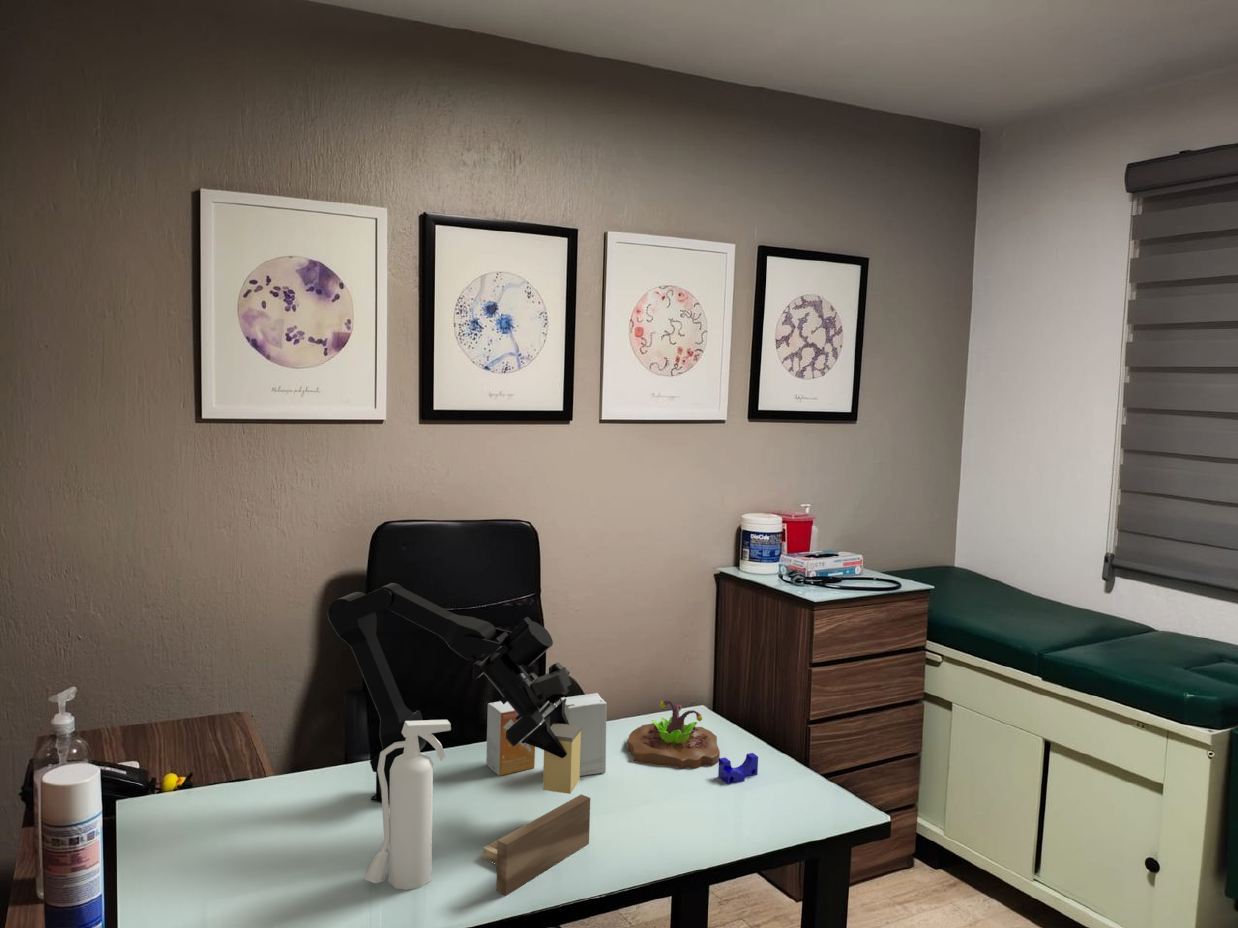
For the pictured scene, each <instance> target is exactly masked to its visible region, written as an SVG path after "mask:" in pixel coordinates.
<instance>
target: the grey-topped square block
mask: <svg viewBox="0 0 1238 928" xmlns="http://www.w3.org/2000/svg"><path fill="white" fill-rule="evenodd" d="M550 728H551V730H552V732H553V733H554V734H555V736H556V737H557V739H558V740H559V742H560V743H561V745H562V746H563V748H564V750H565V751H566V753H567V755H566V756H565V757H564V758H560V757H558V756H556V755H554V754H552V753H549V752H547V751H545V750H543V773H542V776H543V779H542V791H548V792H555V793H563V794H570V795H571V793H572V792H573V791H574V789H575V788H576V787H577V785H578V783H579V782H580V777H581V776H580V743H581V726H575V725H567V724H560V723H554V724H553V725H552V726H551V727H550Z"/></svg>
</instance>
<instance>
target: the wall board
mask: <svg viewBox="0 0 1238 928" xmlns="http://www.w3.org/2000/svg"><path fill="white" fill-rule="evenodd" d="M590 818H591V797H589V796H587V795H584V794H581V793H580V794H579V795H578V796H577V795H576V796H575V797H574V798H572V799H569V801H566V802H565V803H563V804H561V805H559V806H558V807H556V808H553V809H552V810H551V811H548V812H546V813H545V814H543V815H541V816H539V817H537V818H536V819H533V820H532V821H530V822H528V823H526V824H525V825H524V824H523V825H522V826H520V827H519V828H516V829H515V830H513V831H510V832H509V833H508V834H506V835H503V836H502V837H500V838H498V839H497V840H495V841H493V842H491V843H488V844H487V845H485V846H483V847H482V859H483V858H484V859H483V860H485V859H486V861H487V860H488V861H487V862H490V861H491V862H490V863H492V862H493V863H492V864H494V863H495V864H494V865H496V864H497V865H496V885H495V886H496V887H495V889H496V890H495V891H496V892H497V893H499V894H502V895H503V896H508V895H509V894H511V893H512V892H514V891H517V890H518V889H519V888H521V887H522V886H524V885H526V884H527V883H528V882H530V881H532V880H533V879H535V878H536V876H537V877H538V876H540V875H542V874H543V873H544V871H545V872H546V871H548V870H549V869H551V868H552V867H554V866H556V865H557V864H559V863H560V862H562V861H564V860H565V859H567V858H568V857H570V856H572V855H573V854H575V853H576V852H578V851H580V850H581V849H582V848H584V847H586V846H587V845H588V844H590V822H591V820H590ZM569 855H570V856H569ZM539 874H540V875H539Z"/></svg>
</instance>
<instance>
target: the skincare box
mask: <svg viewBox="0 0 1238 928" xmlns="http://www.w3.org/2000/svg"><path fill="white" fill-rule="evenodd" d="M565 698H566V702H565V715H566V717H567V720H568V722H569V725H575V726H581V743H580V776H579V777H582V776H590V775H596V774H602V773H606V772H607V771H606V770H607V767H606V766H607V763H606V761H607V755H606V754H607V707H608V706H607V705H608V703H607V702H606V701H605V700H604V699H603V698H602V697H601V696H600V694H599V693H598V692H595V693H590V694H587V693H586V694H582V695H581V694H579V695H574V696H567V697H565V696H564V697H562V698H561V699H560V702H562V701H563V700H564V699H565Z"/></svg>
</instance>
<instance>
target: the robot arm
mask: <svg viewBox="0 0 1238 928" xmlns="http://www.w3.org/2000/svg"><path fill="white" fill-rule="evenodd" d="M384 609H385V610H388V611H390V612H391V613H394V614H395V615H398V616H400V617H402V618H404V619H406V620H407V621H409V622H412V623H413V624H416V625H417V626H419V627H421V628H422V629H423V628H424V629H425V630H427V631H429V632H431V633H433V634H435V635H437V636H438V637H439V638H441V639H442V640H443V641H445V643H446V644H447V645H448V647H449V648H450V649H451V650H452V651H453V652H454V653H456V654H457V655H459V656H460V657H462V658H463V659H465V660H467V661H471V662H472V661H475V662H474V663H473V664H472V666H473V670H472V679H473V680H477V679H478V678H480V677H481V676H482V675H484V676H486V678H487V679H488V680H489V682H491V684H492V685H493V686H494V687H495V689H496V690H497V692H499V693H500V695H501V696H502V698H501V699H499V701H501V702H502V703H503V704H505V703H506V702H508V703H509V704H510V705H511V706H512V708H513V709H514V710H515V711H516V712H517V714H518V716H517V717H516V718H515V719H516V720H517V721H516V722H515V723H514V724H513V725H512V726H511V727H510V728H509V729H508V730H507V731H506V739H507V740H508V742H509V743H510V744H511V745H512V746H513V747H514V746H515V745H516V744H517V743H518V742H520V741H521V740H522V739H523V738H524V737H525V736H526V737H525V738H524V739H523V740H522V741H521V743H523V744H524V743H527V744H529V745H532V746H535V748H537V749H540V750H542V751H544V750H545V751H547V752H549V753H552V754H554V755H556V756H558V757H560V758H564V757H565V756H566V755H567V753H566V751H565V750H564V748H563V746H562V745H561V743H560V742H559V740H558V739H557V737H556V736H555V734H554V733H553V732H552V730H551V728H550V727H551V726H552V725H553V724H554V723H560V724H567V725H569V722H568V720H567V717H566V715H565V702H566V698H565V699H564V700H563V701H562V702H561V698H564V697H565V696H567V694H568V693H569V692H570V690H569V688H568V687H570V686H572V682H571V681H570V678H569V675H570V674H571V673H570V671H569V670H568V669H566V666H563V665H562V664H561V663H560V662H556V663H553V664H551V665H550V666H549V667H548V672H547V673H545V674H544V675H542V676H538V675H537V674H536V673H535V672H532V671H531V672H530V673H529V674H528V673H527V672H526V671H525V669H524V668H523V667H522V666H525V667H530V666H531V665H532V664H533V663H535V662H536V661H537V660H538V659H539V658H540V657H542V655H543V654H544V653H546V652H547V651H549V649H551V648H552V646H553V645H554V640H553V638H552V635H551V634H550V633H549V631H548V630H547V629H546V628H545V627H544V626H542V625H541V624H540V623H538V622H536V621H534V620H533V621H532V620H531V618H530V617H529V616H526V617H525V618H523V619H522V620H521V621H520V622H519V623H518V625H517V626H516V627H515V628H514V629H513V630H511V631H510V630H505V629H503V628H497V627H495V625H493V624H492V623H491V622H489V621H486V620H484V619H481V618H480V619H479V618H476V617H474V616H468V615H459V614H456V613H453V612H451V611H449V610H447V609H445V608H443V607H441V606H439V605H438V604H435V603H433V602H431V601H429V600H428V599H426V598H423V597H422V596H420V595H417V594H416V593H414V592H412V591H410V590H407V589H406V588H403V586H402V585H401V584H399V583H395V582H390V583H388V584H386V585H383V586H382V587H379V588H377V589H374V590H373V591H370V592H368V593H365V592H361V591H356V592H351V593H349V594H347V595H345V596H343V597H340V598H338V599H336V600H334V601H333V602H332V603H331V604H330V605H329V608H328V611H327V618H328V621H329V623H330V624H331V626H332V628H333V630H334V631H335V633H336V634H337V636H338V637H339V638H340V639H341V640H343V641H344V642H345V643H346V644H347V645H348V646H349V647H350V649H351V651H352V653H353V655H354V658H355V660H356V663H357V664H358V667H359V670H360V672H361V675H362V677H363V679H364V682H365V684H366V686H367V690H368V692H369V694H370V697H371V699H372V702H373V704H374V706H375V709H376V711H377V713H378V717H379V721H380V723H379V739H380V740H379V741H380V744H381V747H382V749H381V750H380V751H379V752H378V753H377V754H376V755H375V756H373V758H371V759H370V760H369V764H370V766H371V769H372V772H373V773H375V793H374V794H373V795H372V796H370V800H371V801H373V802H374V801H375V802H378V803H382V793H381V786H380V781H379V776H378V771H377V768H378V763H379V757H380V752H382V751H383V750H384V749H386V748H387V747H389V746H390V745H392V744H393V743H395V742H401V741H405V740H406V737H404V736H403V734H402V733H401V732H402V729H403V726H404V723H405V721H421V720H423V715H422V713H421V710H417V711H415V712H413V711H412V710H410V709H409V708H408V707H407V706H406V704H405V702H404V699H403V697H402V695H401V692H400V690H399V688H398V686H397V683H396V680H395V677H394V676H393V673H392V670H391V669H390V665H389V663H388V661H387V658H386V656H385V653H384V651H383V648H382V646H381V644H380V642H379V639H378V637H377V624H378V619H377V617H378V616H377V614H376V613H377V612H379V611H381V610H384ZM502 647H503V648H504V649H503V650H502V651H501V652H497V651H498V650H500V649H501V648H502ZM484 655H488V656H487V657H486V658H485V659H484V660H482V661H481V660H479V659H481V658H482V657H484ZM418 742H419V749H420V751H422V749H424V747H426V744H427V742H428V741H427V740H425V739H423V738H422V737H420V736H419V735H418ZM403 752H404V747H402V748H396V749H394V750H393V751H391V752H390V753H388V754H387V755H386V757H385V765H384V773H385V778H386V782H387V786H388V803H389V805H390V768H391V766H392V763H393V761H394V759H395V757H397V756H399V755H402V754H403Z"/></svg>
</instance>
